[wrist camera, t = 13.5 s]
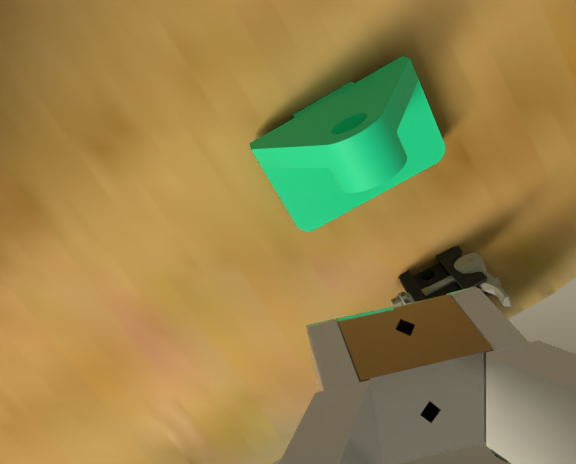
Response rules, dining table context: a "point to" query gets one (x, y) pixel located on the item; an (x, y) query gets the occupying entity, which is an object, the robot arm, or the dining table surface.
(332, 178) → the camera mount
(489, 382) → the robot arm
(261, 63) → the dining table surface
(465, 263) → the scope
